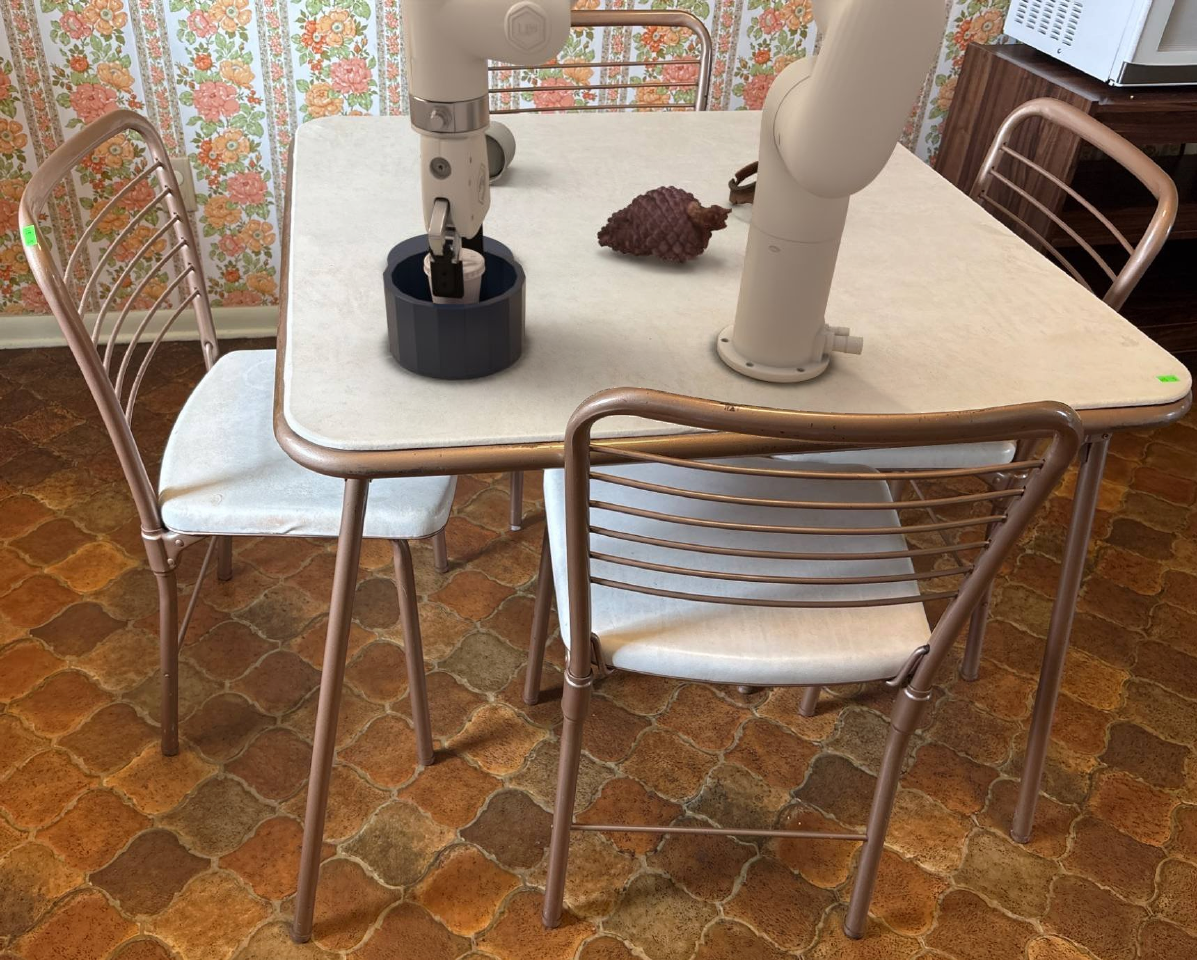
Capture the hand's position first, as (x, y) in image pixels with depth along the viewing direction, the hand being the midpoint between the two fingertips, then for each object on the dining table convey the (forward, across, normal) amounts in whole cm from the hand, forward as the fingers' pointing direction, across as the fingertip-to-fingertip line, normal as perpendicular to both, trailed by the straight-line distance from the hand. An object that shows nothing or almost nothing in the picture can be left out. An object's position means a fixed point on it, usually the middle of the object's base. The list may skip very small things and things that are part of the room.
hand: (459, 275), depth 104 cm
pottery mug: (+10, +47, -34) cm, 59 cm away
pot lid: (+8, +19, +6) cm, 21 cm away
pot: (+8, 0, +1) cm, 9 cm away
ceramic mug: (+9, +50, +9) cm, 51 cm away
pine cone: (+9, +28, -20) cm, 36 cm away
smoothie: (+8, 0, +1) cm, 8 cm away
